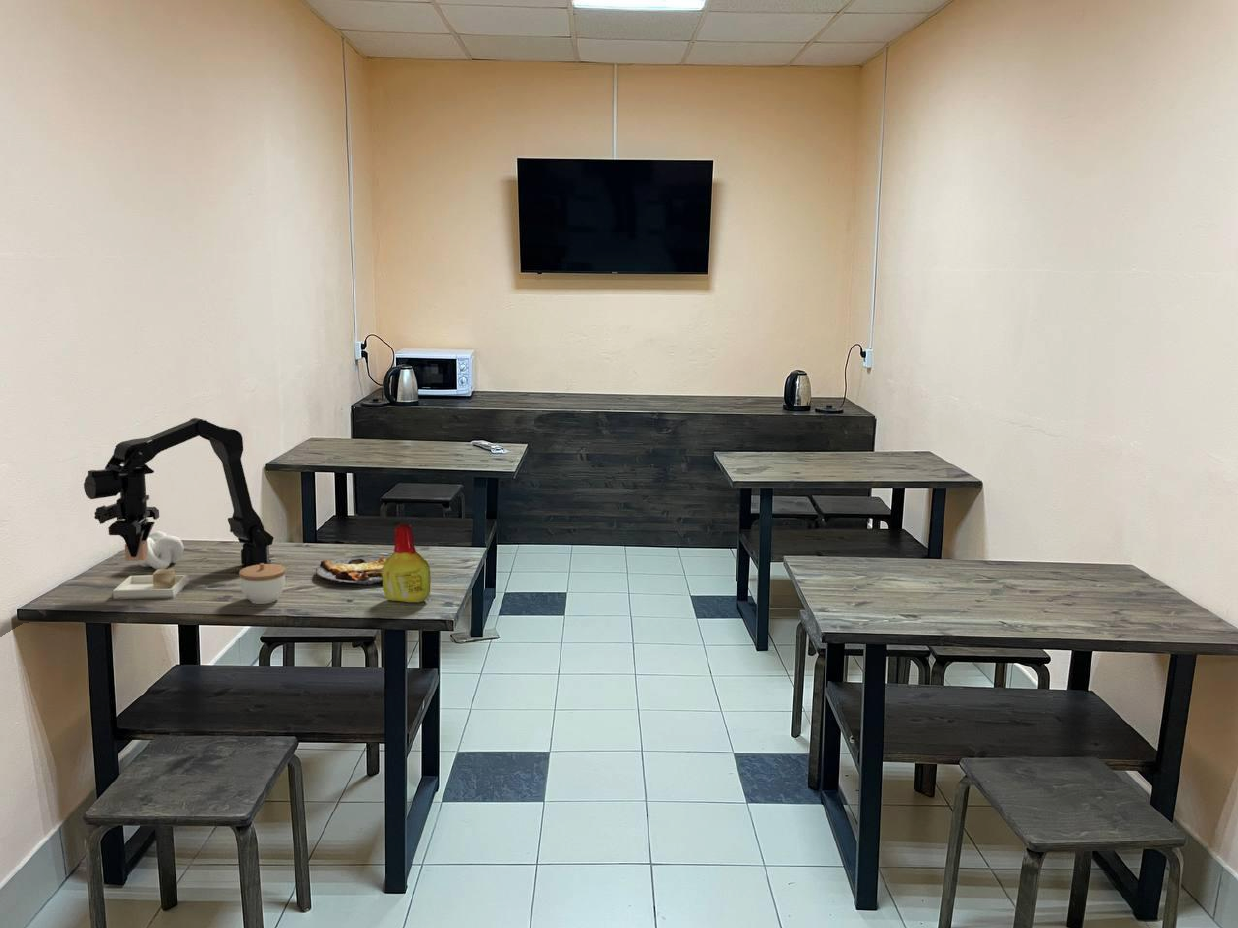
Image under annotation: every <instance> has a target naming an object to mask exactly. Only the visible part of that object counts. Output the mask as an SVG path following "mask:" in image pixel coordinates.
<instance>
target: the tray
mask: <svg viewBox="0 0 1238 928" xmlns="http://www.w3.org/2000/svg"><path fill="white" fill-rule="evenodd" d="M188 581H189V580H188V574H175V585H174V586H173V587H172V588H171V589H154V585H153V574H152V575H151V574H150V575H129V576H128V577H127V578H126V579H125V580H124V581H122V582H121V583H120V584H119V585H118V586H116V588H114V589H113V590H112V595H113V597H112V598H113V600H127V599H128V600H130V599H131V600H133V599H134V600H135V599H136V600H138V599H143V600H144V599H175V598H176V596H177V595H178V594H180V592H181V591H182V590H183V589H184V588H185V587H186V586H187V584H188V583H189V582H188Z"/></svg>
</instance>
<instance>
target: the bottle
mask: <svg viewBox="0 0 1238 928" xmlns="http://www.w3.org/2000/svg"><path fill="white" fill-rule="evenodd" d="M415 547H416V546H415V544H414V534H413V528H412V525H410V524H409V523H399V524H397V525H396V526H395V528H394V548H393V553H392V554H391V555H390V556H389V558H388V559H387V560H386V562H385V563H384V565H383V569H382V576H381V577H382V578H381V579H383V581H382V587H383V589H382V590H383V593H384V597H386V599H387V600H390V601H394V602H395V601H398V602H405V603H422V602H423V601H425V600H426V598H427V597H428V596H429V595H430V594H431V568H430V564H429V563H428V561H427V560H426V559H425V558H423V556H421V554H420V553H418V552H417V551H416V548H415Z"/></svg>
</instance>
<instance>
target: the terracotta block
mask: <svg viewBox="0 0 1238 928" xmlns="http://www.w3.org/2000/svg"><path fill="white" fill-rule="evenodd" d="M124 556H125V561H127V562H128V561H130V562H133V561H143V560H144V559H145V558H147V557H148V543H147V541H141V543H140V547H139V550H138V553H137V556H136V557H131V555H130V552H129V550H128V547H127V545H126V543H125V544H124Z"/></svg>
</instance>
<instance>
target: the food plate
mask: <svg viewBox="0 0 1238 928" xmlns="http://www.w3.org/2000/svg"><path fill="white" fill-rule="evenodd" d="M389 557H390V556H387V555H372V554H363V555H356V556H355V555H354V556H347V557H342V558H341V557H340V558H335V559H332V560H329V559H324V560H321V561H320V565H319V566H317V567H316V568H315V569H316V570H315V575H316V576H317V577H320V578H324V579H326V580H328V581H332V582H337V583H343V582H344V583H345V584H351V583H352V584H357V585H368V586H369V585H373V584H376V583H381V582H383V578H379V579H376V578H375V577H378V576H381V577H382V569H383V565H384V563H385V562H386V560H387V559H388V558H389ZM373 578H375V579H376V580H372V579H373Z"/></svg>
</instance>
